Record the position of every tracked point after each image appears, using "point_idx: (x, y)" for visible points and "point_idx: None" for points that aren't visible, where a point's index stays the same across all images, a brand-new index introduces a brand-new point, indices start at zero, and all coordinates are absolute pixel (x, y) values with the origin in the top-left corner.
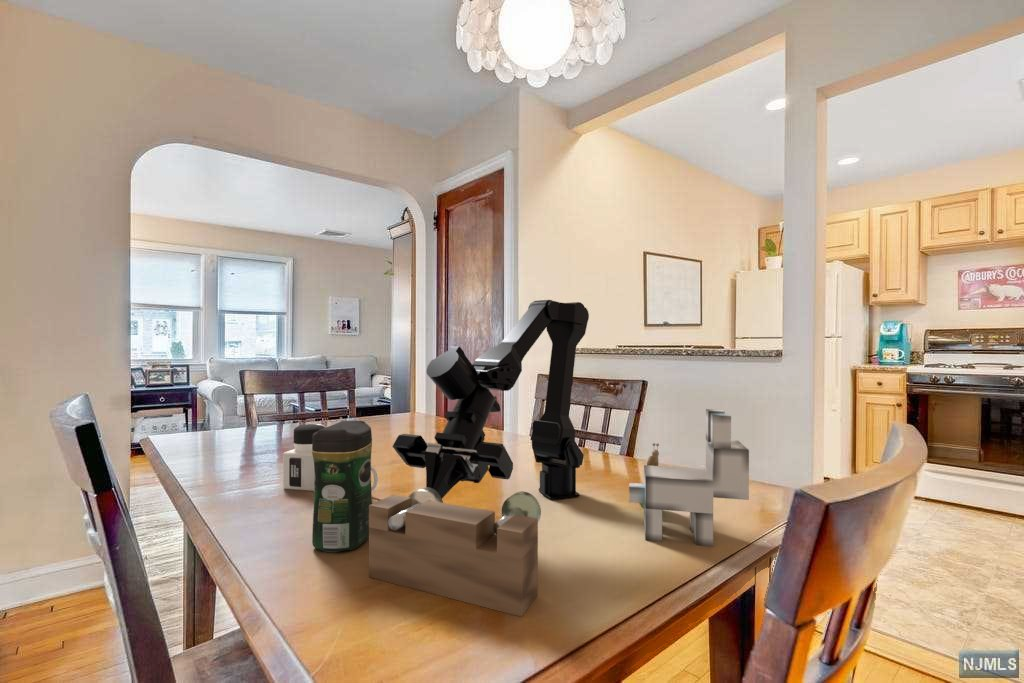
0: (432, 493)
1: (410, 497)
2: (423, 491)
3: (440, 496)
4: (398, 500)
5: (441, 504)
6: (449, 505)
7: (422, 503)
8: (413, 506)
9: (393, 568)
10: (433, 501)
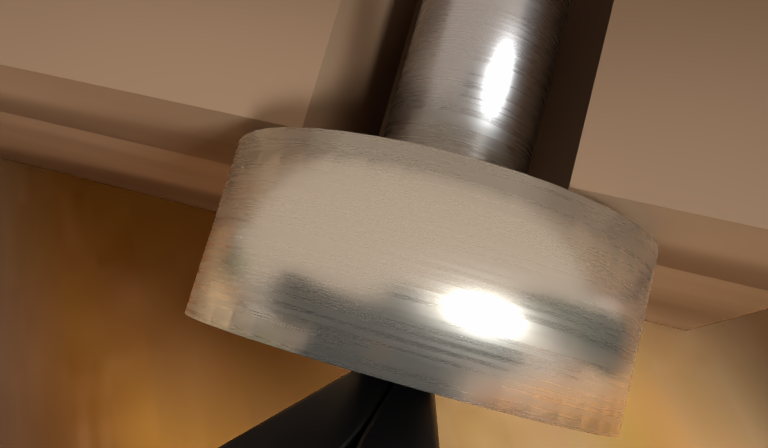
0: (252, 219)
1: (582, 191)
2: (361, 152)
3: (189, 316)
4: (695, 37)
5: (112, 33)
6: (24, 24)
7: (334, 11)
8: (465, 49)
9: None
10: (224, 105)
